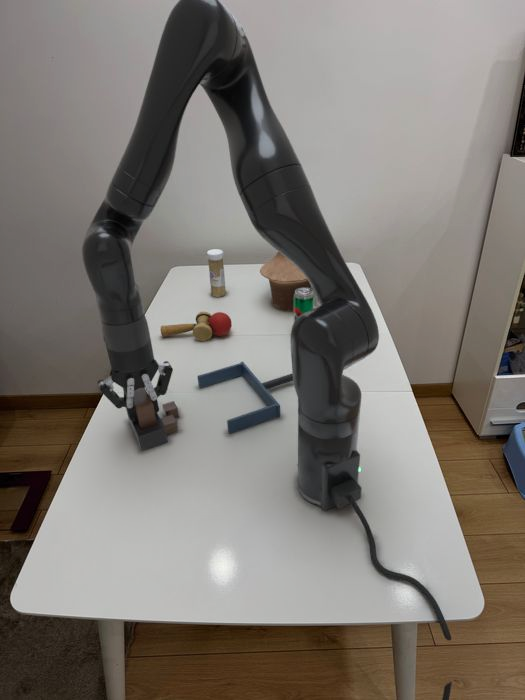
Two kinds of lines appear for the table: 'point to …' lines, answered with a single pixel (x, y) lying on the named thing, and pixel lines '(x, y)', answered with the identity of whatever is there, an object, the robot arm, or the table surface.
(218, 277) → the sprinkles bottle
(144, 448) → the eraser
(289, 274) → the pitcher
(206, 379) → the frame
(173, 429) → the crumb
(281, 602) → the table surface
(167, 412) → the crumb
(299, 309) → the soda can
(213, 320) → the kendama
